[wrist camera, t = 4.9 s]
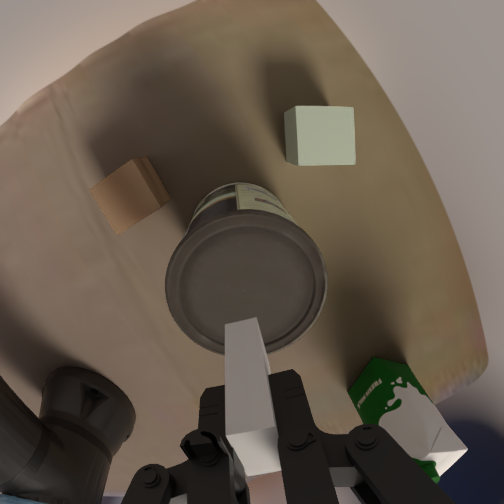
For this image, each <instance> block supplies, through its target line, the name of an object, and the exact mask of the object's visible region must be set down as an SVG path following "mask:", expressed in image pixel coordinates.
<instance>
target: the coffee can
mask: <svg viewBox="0 0 504 504" xmlns="http://www.w3.org/2000/svg"><path fill="white" fill-rule="evenodd" d="M327 288H328V276H327V270H326V265H325V262H324V259H323V256H322V254H321V252H320V250H319V248H318V247H317V245H316V244H315V243H314V241H313V240H312V239H311V237H310V236H309V235H308V234H307V233H306V232H305V231H304V230H303V229H301V228H300V227H299V226H298V224H297V223H296V222H295V221H294V219H293V218H292V217H291V215H290V214H289V213H288V212H287V211H286V210H285V208H284V207H283V205H282V204H281V202H280V201H279V200H278V198H277V197H275V195H274V194H272V193H271V192H269V191H268V190H266V189H264V188H262V187H260V186H257V185H254V184H250V183H238V182H236V183H231V184H226V185H223V186H221V187H219V188H217V189H215V190H213V191H212V192H210V193H209V194H208V195H207V196H205V197H204V198H203V199H202V201H201V202H200V203H199V205H198V206H197V208H196V210H195V212H194V215H193V218H192V220H191V222H190V225H189V227H188V229H187V231H186V233H185V235H184V236H183V238H182V240H181V242H180V243H179V245H178V246H177V247H176V249H175V251H174V253H173V255H172V257H171V259H170V261H169V264H168V267H167V271H166V277H165V293H166V299H167V303H168V307H169V310H170V312H171V314H172V317H173V318H174V320H175V322H176V323H177V325H178V326H179V327H180V329H181V330H182V331H183V332H184V333H185V334H186V335H187V336H188V337H189V338H190V339H191V340H193V341H194V342H195V343H197V344H198V345H200V346H201V347H203V348H205V349H207V350H209V351H212V352H214V353H217V354H220V355H224V356H225V324H229V323H234V322H238V321H242V320H247V319H251V318H255V317H257V321H258V324H259V328H260V332H261V335H262V339H263V343H264V346H265V350H266V354H267V355H269V354H272V353H275V352H278V351H280V350H282V349H284V348H286V347H288V346H290V345H292V344H293V343H295V342H296V341H297V340H299V339H300V338H301V337H302V336H303V335H304V334H306V333H307V331H308V330H309V329H310V328H311V327H312V326H313V324H314V323H315V321H316V320H317V318H318V317H319V315H320V313H321V311H322V308H323V306H324V303H325V300H326V295H327Z"/></svg>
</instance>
